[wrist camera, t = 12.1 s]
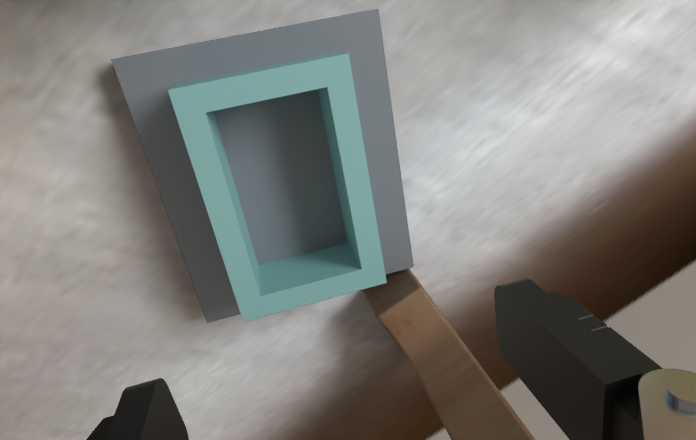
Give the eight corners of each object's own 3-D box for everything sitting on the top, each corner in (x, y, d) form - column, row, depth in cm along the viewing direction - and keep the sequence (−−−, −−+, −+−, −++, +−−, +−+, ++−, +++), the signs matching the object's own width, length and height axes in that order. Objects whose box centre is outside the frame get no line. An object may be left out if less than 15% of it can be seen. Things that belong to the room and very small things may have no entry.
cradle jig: (370, 10, 24) (400, 2, 19) (405, 256, 30) (434, 294, 25) (119, 58, 22) (87, 62, 18) (209, 309, 28) (202, 360, 24)
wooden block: (447, 321, 32) (595, 521, 19) (410, 347, 33) (531, 565, 19) (401, 258, 30) (535, 439, 16) (361, 287, 30) (460, 491, 16)
